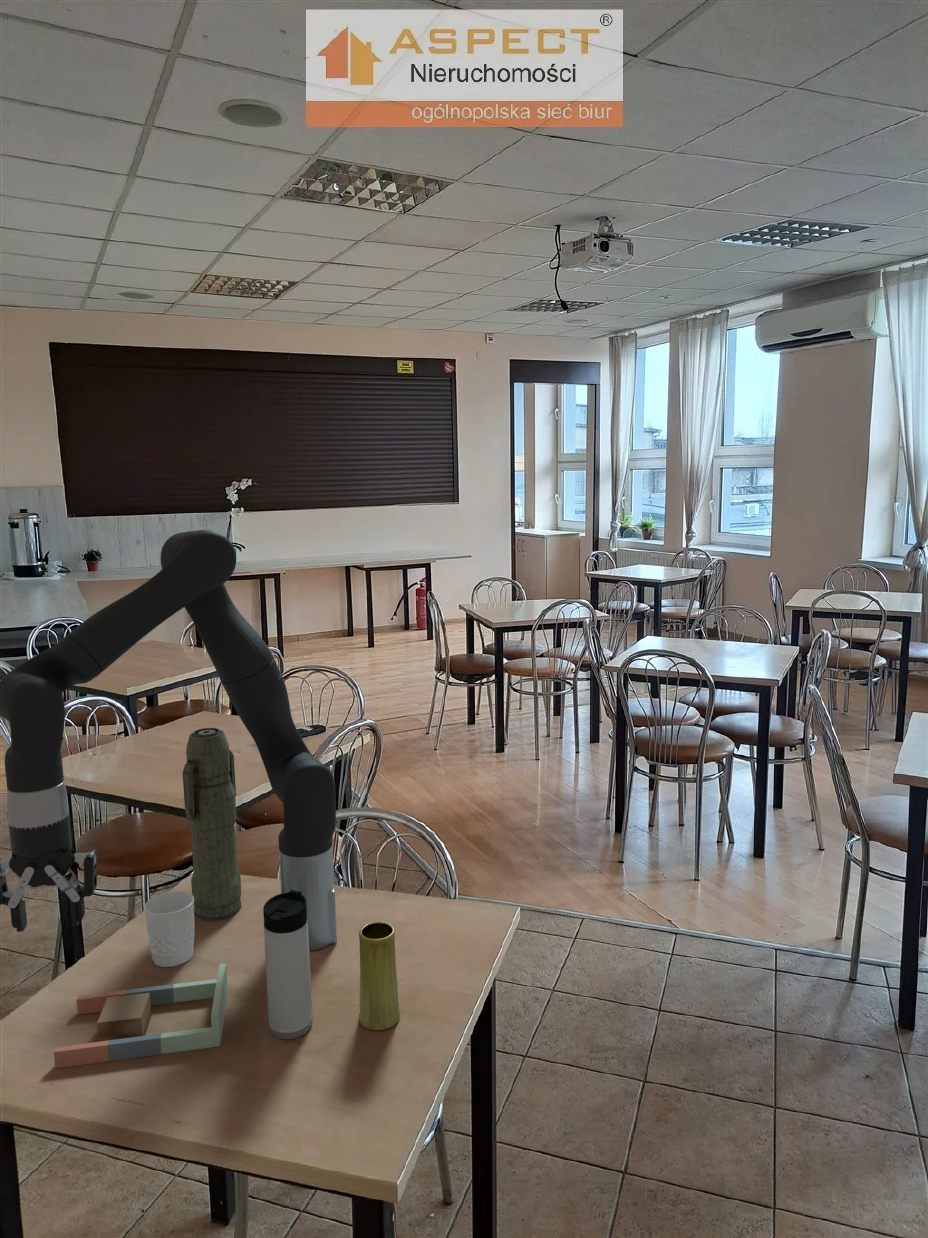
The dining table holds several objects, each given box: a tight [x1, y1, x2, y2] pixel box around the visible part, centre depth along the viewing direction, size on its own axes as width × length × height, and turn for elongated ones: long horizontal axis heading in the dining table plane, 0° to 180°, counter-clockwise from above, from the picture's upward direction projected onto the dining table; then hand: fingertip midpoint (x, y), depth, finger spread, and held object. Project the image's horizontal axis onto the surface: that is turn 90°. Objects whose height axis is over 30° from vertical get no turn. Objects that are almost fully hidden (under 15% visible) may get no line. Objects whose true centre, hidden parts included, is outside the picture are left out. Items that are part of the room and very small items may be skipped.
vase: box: [358, 920, 401, 1032], centre depth 123 cm, size 6×6×14 cm
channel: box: [53, 962, 229, 1069], centre depth 122 cm, size 22×13×5 cm, turn 101°
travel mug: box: [262, 890, 313, 1040], centre depth 121 cm, size 6×7×20 cm
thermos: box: [182, 727, 242, 922], centre depth 154 cm, size 9×12×35 cm
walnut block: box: [96, 993, 152, 1042], centre depth 121 cm, size 6×6×4 cm
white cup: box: [144, 890, 196, 968], centre depth 140 cm, size 8×8×10 cm
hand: (49, 925), depth 117 cm, fingers open, 6 cm apart
